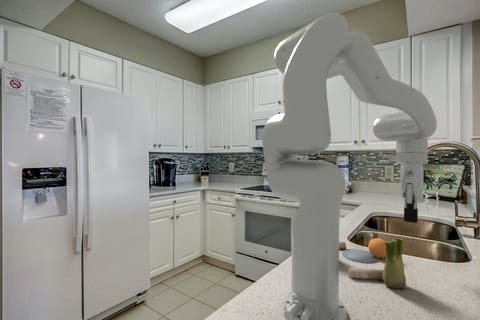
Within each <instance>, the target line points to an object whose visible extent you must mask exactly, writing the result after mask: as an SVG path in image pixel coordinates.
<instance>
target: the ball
mask: <svg viewBox="0 0 480 320" xmlns="http://www.w3.org/2000/svg"><path fill="white" fill-rule="evenodd" d="M386 241H387V240H385V239H382V238H378V237H377V238H372V239H371V240H370V241H369V243H368V246H367V247H368V252H370V253H371V254H372V255H373V256H375V257H377V258H380V259H384V258H386Z"/></svg>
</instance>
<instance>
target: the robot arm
mask: <svg viewBox="0 0 480 320" xmlns="http://www.w3.org/2000/svg"><path fill="white" fill-rule="evenodd" d="M273 58H274V63H275V66H276V68H277V69H278V71H279V72H280V73H282V74H283V79H282V96H283V97H282V98H283V111H284V112H283V113H279V114H276V115H274V116H272V117H270V118H269V119H268V121H267V122H266V123H265V125H264V127H263V130H262V136H261V137H262V139H261V142H262V150H263V157H264V158H263V159H264V162H265V165H264V166H265V172H266V178H267V182H268V186H269V188H270V190H271V192H272V194H274V195H275V196H276V197H277V198H279V199H280V200H281V199H282V200H284V201H285V200H286V201H290V202H293V203H297V204H299V206H298V209H297V211H296V213H295V214H294V217H293V219H292V223H291V292H289V293H288V294H287V295H285V298H284V302H283V305H284V310H285V311H284V313H283V317H284V319H286V320H347V318H348V309H347V307H346V306H345V304H344V303H343V302H342V301H341V300H340V294H339V292H340V290H339V289H340V288H339V287H340V286H339V285H340V280H339V279H340V249H339V242H340V219H341V216H340V215H341V210H342V209H341V208H342V203H343V198H344V194H345V188H346V179H345V175H344V174H343V172H342V170H341V168H340V167H339V166H337V165H336V164H334V163H331V162H329V161H325V160H319V159H317V160H316V159H315V160H314V159H312V160H311V159H302V160H300V159H299V158H298V156H299V155H301V156H303V155H306V156H307V155H315V154H319V153H322V152H325V151H326V150H327V149H328V148H329V146H330V144H331V140H332V131H331V121H330V111H329V101H328V91H327V90H328V89H327V81H328V79H332V78H335V77H338V76H342V78H343V79H344V80H345V82H346V83H347V85H348V87H349V88H350V89H351V91H352V93H353V95H355V98H357V100H359V101H361V102H362V103H366V104H371V105H377V106H381V107H388V108H393V109H396V110H399V111H401V112H397V113H390V114H384V115H381V116H379V117H378V118H376V119H375V121H374V122H373V126H372V132H373V134H374V136H375V137H376V138H377V139H378V140H380V141H384V142H396V143H395V144H396V145H395V150H396V151H395V152H396V153H395V154H396V156H395V164H398V165H400V195H401V198H403V199H404V208H403V221H404V222H406V223H412V224H413V223H414V224H417V223H418V221H419V220H418V219H419V217H418V216H419V215H418V214H419V207H418V199H419V201H421V200H423V198H424V165H427V164H428V154H429V153H428V146H429V145H428V143H429V142H428V141H429V140H428V139H429V138H430V137H432V136H433V135H434V134H435V132H436V130H437V127H438V126H437V125H438V122H437V118H436V114H435V112H434V109H433V107H432V105H431V103H430V102H429V99H428V98H427V97H426V96H425V94H424V93H423V92H421V91H420V90H418V89H416V88H415V87H413V86H411V85H409V84H407V83H405V82H402V81H400V80H396V79H394V78H393V77H392V76H391V75H390V73H389V71H388V70H387V68H386V66H385V64H384V63H383V61H382V59H381V57H380V55H379V54H378V52H377V50H376V48H375V47H374V45H373V43H372V41H371V40H370V38H369V36H368V35H367V34H366V33H365V32H362V31H359V30H356V31H355V30H354V31H351V32H349V26H348V22H347V19H346V18H345V17H344V15H342V14H340V13H337V12H332V13H326V14H324V15H322V16H320V17H318V18H317V19H315V20H313V21H312V22H310V23H308V24H306V25H305V26H304V27H302V28H301V29H299V30H298V31H296V32H294V33H292V34H291V35H289V36H288V37H286V38H285V39H283V40H282V41H281V42H280V43H279V44H278V46H277V47H276V48H275V51H274V57H273Z"/></svg>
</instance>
